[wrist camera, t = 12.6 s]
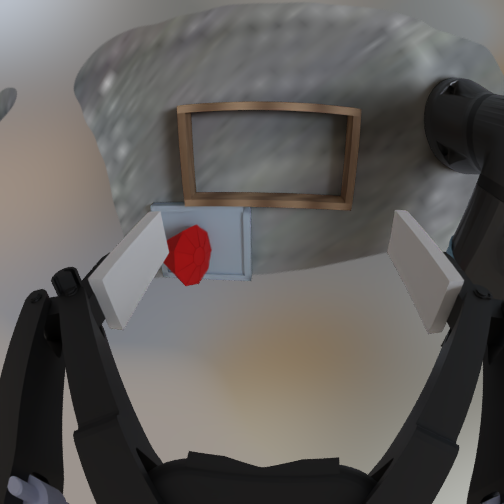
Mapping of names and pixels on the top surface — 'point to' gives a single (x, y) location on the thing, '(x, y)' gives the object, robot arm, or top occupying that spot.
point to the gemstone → (189, 255)
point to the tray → (214, 236)
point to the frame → (268, 198)
